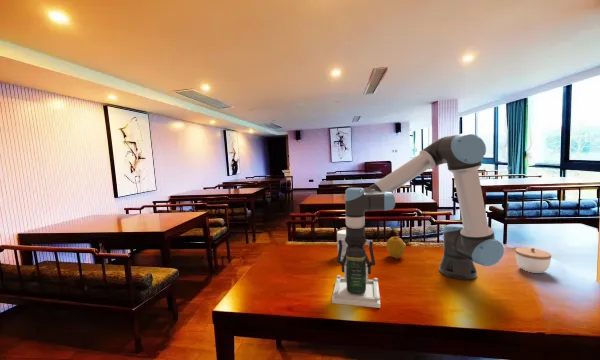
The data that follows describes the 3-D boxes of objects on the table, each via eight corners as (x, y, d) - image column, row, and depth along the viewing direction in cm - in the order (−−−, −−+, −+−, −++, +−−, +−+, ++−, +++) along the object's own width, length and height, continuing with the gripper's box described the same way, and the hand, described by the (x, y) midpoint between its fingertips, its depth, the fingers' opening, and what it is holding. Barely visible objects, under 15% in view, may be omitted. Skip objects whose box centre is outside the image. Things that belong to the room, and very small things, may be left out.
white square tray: (378, 285, 114) (377, 277, 114) (380, 307, 97) (380, 299, 97) (336, 281, 119) (336, 274, 118) (332, 303, 101) (331, 294, 101)
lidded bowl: (548, 279, 114) (549, 254, 113) (512, 270, 124) (512, 248, 123) (552, 270, 122) (553, 247, 122) (517, 263, 132) (518, 241, 131)
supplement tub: (358, 256, 148) (357, 231, 147) (348, 261, 141) (347, 235, 140) (344, 253, 155) (343, 228, 154) (334, 257, 148) (333, 232, 147)
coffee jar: (366, 296, 102) (365, 249, 101) (346, 294, 104) (344, 248, 102) (366, 284, 111) (365, 241, 110) (347, 283, 113) (346, 241, 112)
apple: (384, 254, 151) (384, 234, 150) (402, 254, 150) (402, 234, 149) (388, 260, 141) (388, 239, 140) (407, 260, 140) (406, 239, 139)
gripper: (381, 224, 107) (382, 278, 108) (330, 223, 112) (332, 274, 113) (382, 229, 99) (383, 286, 101) (328, 227, 104) (330, 282, 106)
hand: (356, 280), depth 107 cm, fingers closed on coffee jar, 8 cm apart
